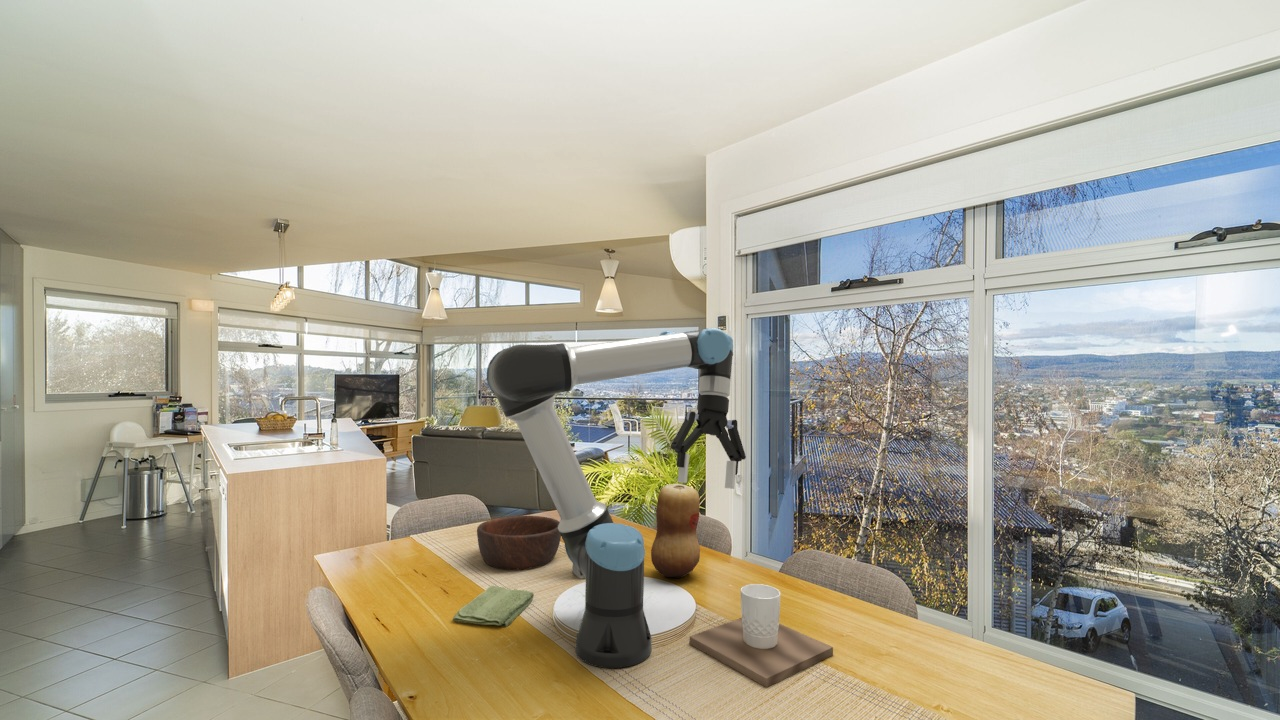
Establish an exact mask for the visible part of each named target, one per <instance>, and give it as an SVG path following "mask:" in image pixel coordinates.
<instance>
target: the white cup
mask: <svg viewBox="0 0 1280 720" xmlns="http://www.w3.org/2000/svg"><path fill="white" fill-rule="evenodd" d="M740 609H741V618H742V626H743V640H744V642H745V643H746V644H747V645H749V646H751V647H754V648H759V649H769V648H773V647H775V646H776V645H777V640H778V629H779V624H780V614H781V613H780V611H781V590H779V589H778V588H776V587H774V586H771V585H767V584H761V583H750V584H746V585H743V586H742V587H741V588H740Z"/></svg>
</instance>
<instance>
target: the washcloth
mask: <svg viewBox="0 0 1280 720" xmlns="http://www.w3.org/2000/svg"><path fill="white" fill-rule="evenodd" d="M534 596H535V593H534V592H533V591H530V590H524V589H523V590H522V589H515V588H514V589H511V588H505V587H503V586H496V585H490V586H488V587H487V588H486V589H485V590H484V591H483V592H481V593H479V594H478V595H477V596H476V597H474V598H473V599H472V600H471V601H469V602H468V603H467V604H465V605H463V606H462V607H461V608H460V609H459V610H458V611H457V613H455V615H454V616H453V618H452V621H455V622H456V623H465V624H475V625H491V626H496V627H497V626H498V627H504V628H507V627H508V626H510V624H512V623H513V622H514V621H515V619H516V618H517V617H518V616H520V614H521V613H523V612H524V610H525V609H526V608H527V607H528V606H529V605H530V603H532V602H533V599H534Z"/></svg>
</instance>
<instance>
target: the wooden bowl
mask: <svg viewBox="0 0 1280 720" xmlns="http://www.w3.org/2000/svg"><path fill="white" fill-rule="evenodd" d="M559 523H560V520H557V519H555V518H551V517H547V516H539V515H515V516H514V515H513V516H511V515H510V516H503V517H502V516H501V517H497V518H493V519H489V520H487V521H484V522H482V523H480V524H479V525H478V526H477V528H476V536H477V543H478V549H479V553H480V555H481V557H482V560H483V561H484V563H486V564H487V565H488V566H490V567H492V568H495V569H500V570H527V569H528V570H529V569H533V568H538V567H541V566H544V565H547V564H548V563H550V562H551V561H552V560H553V559H554V557H555V556H556V554H557V551H558V549H559V546H560V542H561V539H562V536H561V534H560V532H559V530H558V525H559Z"/></svg>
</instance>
